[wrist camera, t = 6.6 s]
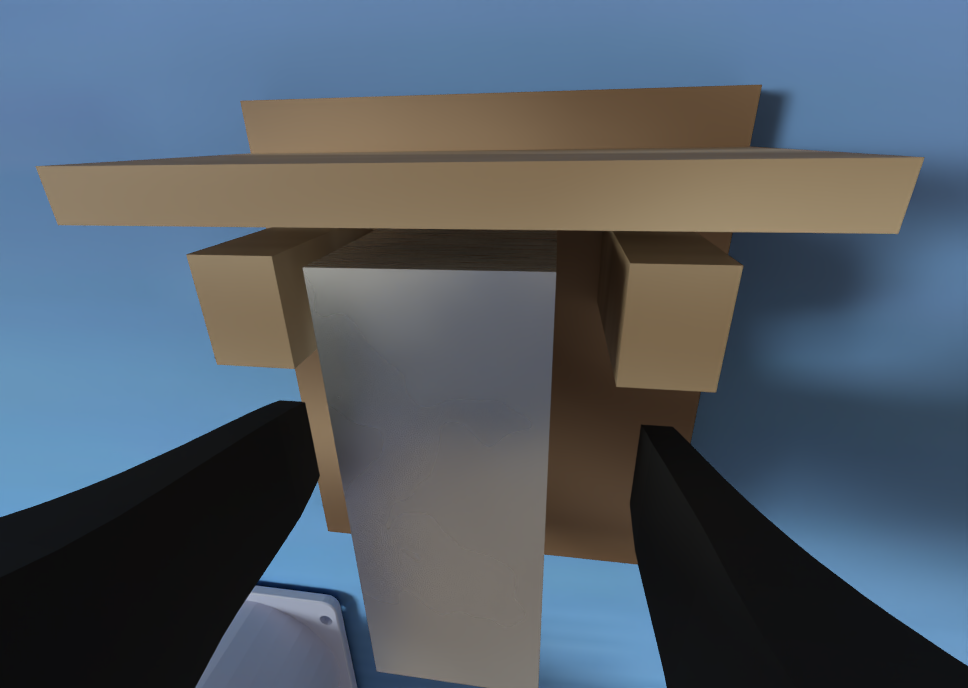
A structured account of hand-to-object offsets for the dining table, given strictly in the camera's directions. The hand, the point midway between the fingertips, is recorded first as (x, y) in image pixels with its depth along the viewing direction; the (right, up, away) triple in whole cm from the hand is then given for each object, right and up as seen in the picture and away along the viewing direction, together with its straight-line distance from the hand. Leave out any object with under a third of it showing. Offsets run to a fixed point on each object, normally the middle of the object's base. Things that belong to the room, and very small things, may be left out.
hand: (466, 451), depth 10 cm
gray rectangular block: (0, +1, +3) cm, 3 cm away
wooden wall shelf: (+1, +2, +3) cm, 4 cm away
